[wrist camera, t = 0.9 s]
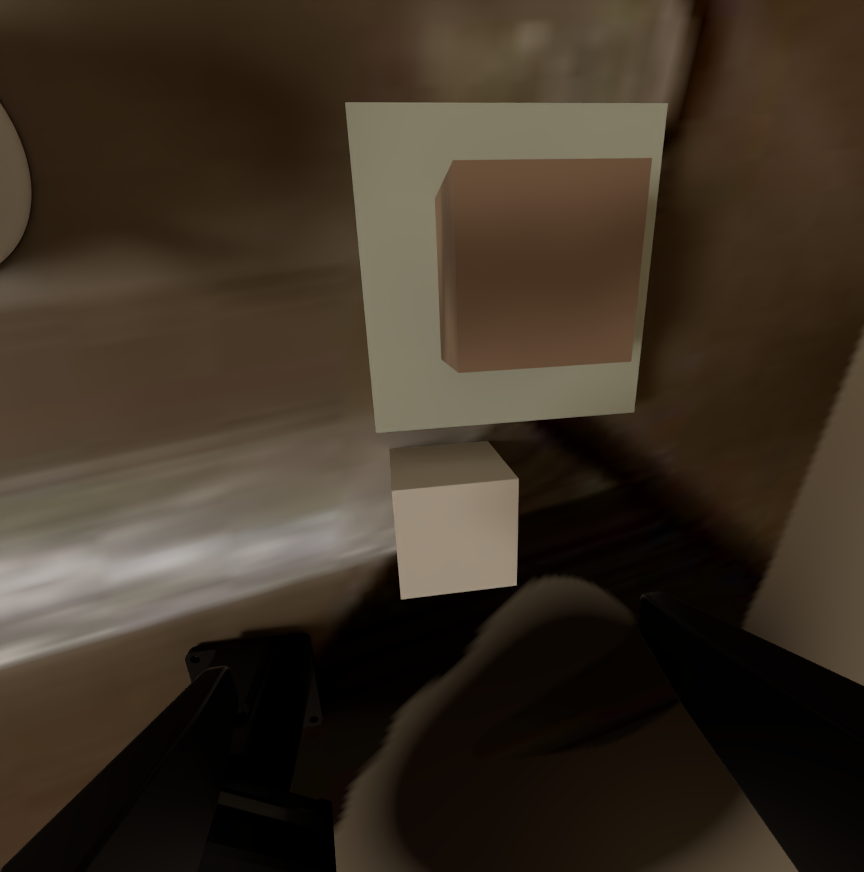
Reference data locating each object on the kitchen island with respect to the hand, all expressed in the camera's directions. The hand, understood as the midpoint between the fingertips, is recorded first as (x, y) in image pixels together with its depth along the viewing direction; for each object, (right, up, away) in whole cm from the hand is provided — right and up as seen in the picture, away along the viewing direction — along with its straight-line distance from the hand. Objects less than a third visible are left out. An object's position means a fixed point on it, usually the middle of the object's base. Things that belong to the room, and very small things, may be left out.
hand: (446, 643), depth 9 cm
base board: (+3, +11, +9) cm, 15 cm away
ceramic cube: (0, +2, +12) cm, 12 cm away
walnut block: (+3, +11, +8) cm, 14 cm away
